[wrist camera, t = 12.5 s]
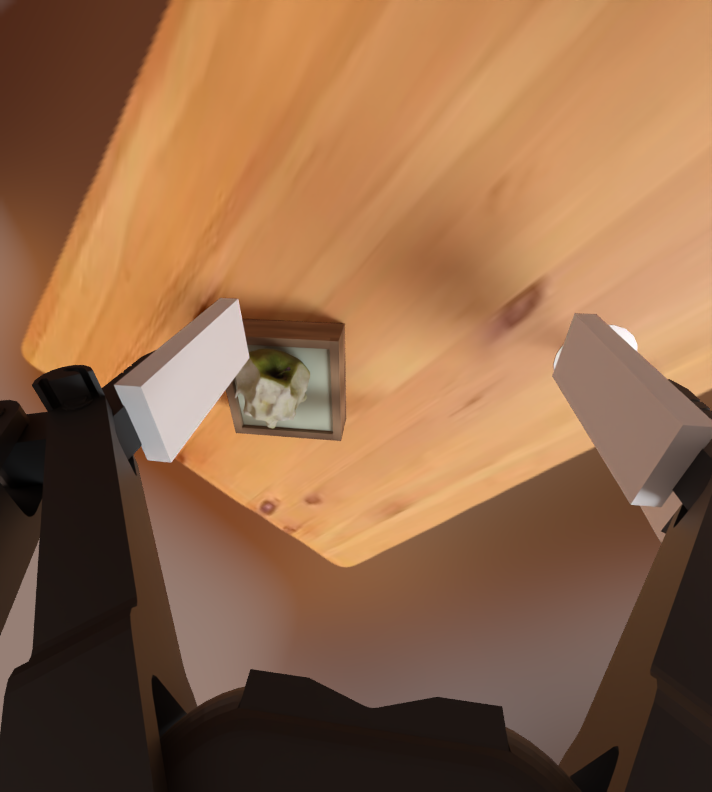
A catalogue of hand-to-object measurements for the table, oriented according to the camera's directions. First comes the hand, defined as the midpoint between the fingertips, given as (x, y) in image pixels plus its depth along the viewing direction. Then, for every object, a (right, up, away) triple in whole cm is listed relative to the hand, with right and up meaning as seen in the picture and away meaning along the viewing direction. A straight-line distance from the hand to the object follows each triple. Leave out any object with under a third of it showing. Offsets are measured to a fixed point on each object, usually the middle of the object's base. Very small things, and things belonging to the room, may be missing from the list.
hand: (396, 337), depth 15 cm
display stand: (-10, +1, +33) cm, 34 cm away
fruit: (-11, 0, +28) cm, 30 cm away
